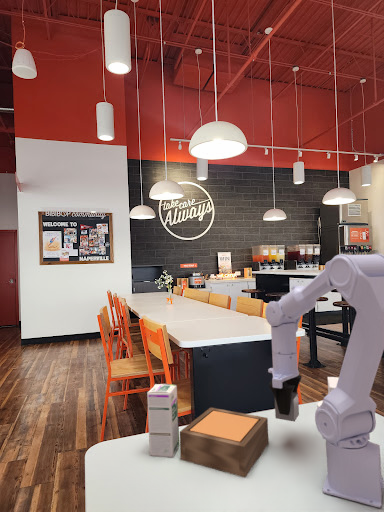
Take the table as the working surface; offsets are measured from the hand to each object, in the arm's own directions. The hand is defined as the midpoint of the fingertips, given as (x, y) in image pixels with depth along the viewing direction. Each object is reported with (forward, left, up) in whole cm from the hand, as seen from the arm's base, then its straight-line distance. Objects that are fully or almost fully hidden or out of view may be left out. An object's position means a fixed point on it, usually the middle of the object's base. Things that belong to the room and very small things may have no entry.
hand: (287, 410), depth 82 cm
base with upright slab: (-9, -13, -8) cm, 18 cm away
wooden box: (+12, +9, -8) cm, 17 cm away
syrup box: (+25, +15, -8) cm, 30 cm away
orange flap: (+12, +9, -3) cm, 15 cm away
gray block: (0, 0, -1) cm, 1 cm away
